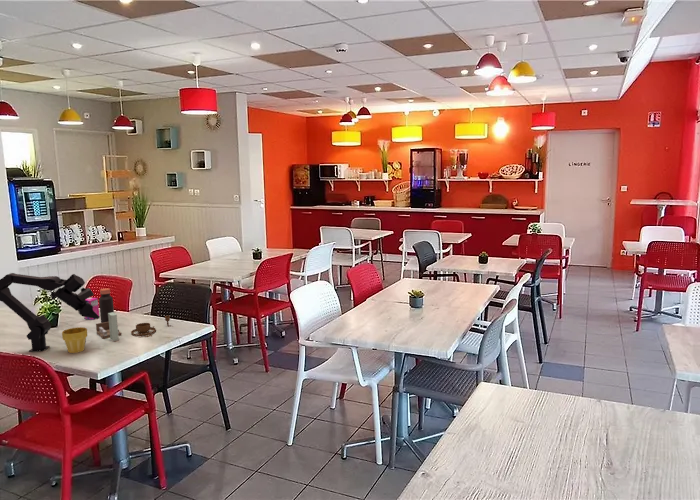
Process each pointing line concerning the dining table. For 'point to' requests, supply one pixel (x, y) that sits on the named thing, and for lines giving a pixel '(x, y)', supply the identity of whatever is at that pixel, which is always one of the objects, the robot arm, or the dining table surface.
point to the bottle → (105, 304)
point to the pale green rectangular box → (113, 326)
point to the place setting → (146, 328)
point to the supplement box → (95, 306)
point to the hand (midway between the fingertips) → (96, 316)
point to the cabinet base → (104, 330)
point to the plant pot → (75, 339)
